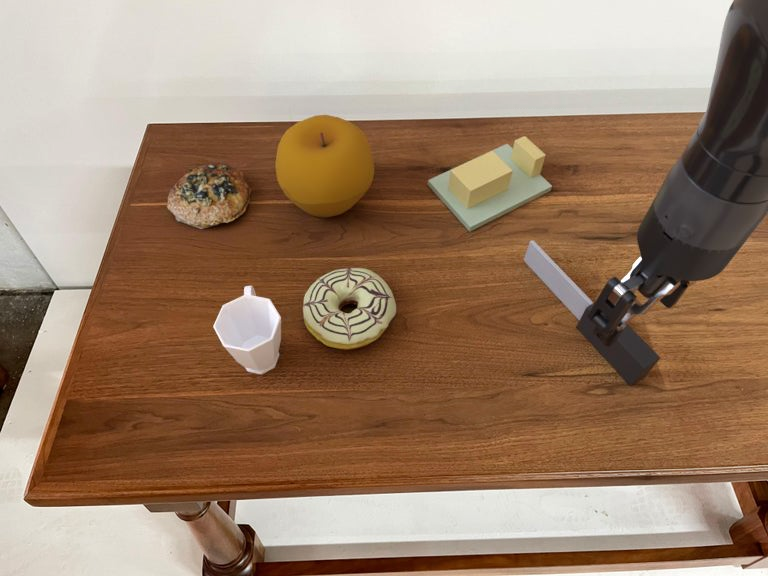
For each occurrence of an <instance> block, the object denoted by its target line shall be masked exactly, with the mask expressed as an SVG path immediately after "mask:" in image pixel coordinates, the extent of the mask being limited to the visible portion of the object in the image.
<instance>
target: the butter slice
mask: <svg viewBox="0 0 768 576" xmlns="http://www.w3.org/2000/svg"><path fill="white" fill-rule="evenodd" d="M512 148H513V151H512V155H511V160H512V161H513V162H514V163H515V164H516V165H517V166H519V167H520V168H521V169H522V170H523V171H524V172H525V173H526V174H527V175H528V176H529V177H530V178H532V177H534V176H536V175H538V174H540V175H541V172H542V169H543V166H544V162H545V159H546V153H544V151H542V150H541V148H539V147H538V146H537V145H535V144H534V143H533V141H531V140H530V139H529V138H528V137H527V136H526V135H523V136H522V137H519V138H517V139H515V140H514V142H513V146H512Z"/></svg>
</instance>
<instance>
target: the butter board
mask: <svg viewBox="0 0 768 576" xmlns="http://www.w3.org/2000/svg"><path fill="white" fill-rule="evenodd" d="M491 151H493V152H494V153H495V154H496V155H497V156H498V157H499V158H500V159H501V160H502V161H503V162H504V163H505V164H507V165H508V166H509V167H510V168H511V169H512V170H513V172H512V176H511V180H510V184H509V189H507V190H505V191H503V192H501V193H499V194H497V195H495V196H493V197H491V198H489V199H487V200H485V201H483V202H481V203H479V204H477V205H474V206H472V207H470V208H468V209H467V208H466V207H465V206H464V205H463V204H462V202H461V201H460V200H459V199H458V198H457V197H456V196H455V195H454V194H453V193H452V192H451V191H450V189H449V188H448V187H449V179H450V171H451V170H452V169H454V168H456V167H457V166H456V167H453V168H451V169H449V170H447V171H445V172H443V173H440V174H438V175H436V176H434V177H432V178H429V179H428V180H427V187H429V188H430V189H431V190H432V192H433V193H434V194H435V195H436V196H437V197H438V199H440V201H441V202H442V204H444V205H445V206H446V207H447V209H448V210H449V211H450V212H451V213H452V214H453V215H454V216H455V217H456V218H457V219H458V221H459V222H460V223H461V224H462V225H463V227H465V228H466V230H467V231H468V232H473V231H475V230H476V229H478V228H480V227H482V226H485V225H486V224H488V223H490V222H492V221H494V220H496V219H498V218H500V217H502V216H503V215H506V214H508V213H510V212H512V211H514V210H516V209H518V208H520V207H522V206H523V205H527V204H528V203H530V202H532V201H534V200H536V199H538V198H540V197H542V196H543V195H545V194H548V193H549V192H551V191H552V188H553V185H552V184H550V182H548V180H546V178H545V177H543V176H542V174H541V173H540V174H538V175H536V176H534V177H532V178H530V177H529V176H528V175H527V174H526V173H525V172H524V171H523V170H522V169H521V168H520V167H519V166H517V165H516V164H515V163H514V162H513V161H512V160H511V155H512V151H513V147H512V146H511V145H510V144H508V143H506V144H503V145H501V146H498V147H497V148H495V149H492V150H490V151H489V152H491ZM482 155H483V154H481V155H479V156H477V157H476V158H478V157H480V156H482ZM469 161H470V160H469ZM469 161H466V162H464V163H462V164H461V165H463V164H465V163H467V162H469Z"/></svg>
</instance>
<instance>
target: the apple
mask: <svg viewBox="0 0 768 576" xmlns="http://www.w3.org/2000/svg"><path fill="white" fill-rule="evenodd" d="M374 161H375V160H374V155H373V150H372V146H371V145H370V142H369V140H368V138H367V136H366V134H365V133H364V132H363V131H362V129H360V128H359V127H358V126H357V125H356V124H354V123H352V122H350V121H349V120H346V119H343V118H341V117H338V116H334V115H329V114H319V115H317V114H316V115H314V116H311V117H308V118H305V119H303V120H299V121H298V122H296V123H295V124H293V125H292V126H290V127H289V128H288V129H287V130H286V131H285V132H284V134H283V135H282V136H281V139H280V140H279V142H278V145H277V149H276V157H275V163H274V165H275V166H274V167H275V175H276V180H277V182H278V185H279V187H280V189H281V190H282V192H283V193H284V195H285V196H286V198H287V199H288V200H290V202H292V203H293V204H294V205H295V206H296V207H298V208H299V209H301V210H302V211H303V212H305V213H307V214H308V215H310V216H314V217H319V218H325V219H327V218H331V217H337V216H340V215H342V214H343V213H345V212H347V211H348V210H350V209H352V208H353V207H354V205H356V204H357V203H358V201H360V200H361V199H362V198H363V197H364V195H365V194H366V193H367V192H368V190H369V189H370V188H371V186H372V182H373V179H374V175H375V162H374Z"/></svg>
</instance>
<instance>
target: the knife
mask: <svg viewBox="0 0 768 576" xmlns="http://www.w3.org/2000/svg"><path fill="white" fill-rule="evenodd" d="M523 262H524V263H525V264H526V265H527V266H528V267H529V268H530V270H531V271H533V273H534V274H535V275H537V277H538V278H539V279H540V280H541V282H543V283H544V284H545V286H546V287H548V289H549V290H550V291H551V292H552V293H553V294H554V296H556V297H557V298H558V300H559V301H560V302H561V303H562V304H563V305H564V306H565V307H566V308H567V309H568V310H569V312H571V314H573V316H574V317H575V318H576V319H577V320H578V323H577V324H576V326H575V328H576V329H577V331H579V333H580V334H582V335H583V337H584V338H585V339H586V340H587V341H588V342H589V344H590V345H591V346H593V348H595V350H596V351H597V352H598V353H599V354H600V355H601V356H602V357H603V359H604V360H606V362H607V363H608V364H609V365H610V366H611V368H612V369H614V371H615V372H616V373H617V374H618V375H619V376H620V377H621V379H623V380H624V381H625V383H626V384H627V385H628V386H629V387H632V386H633V385H636V384H637V383H638V382H640V381H641V380H642V379H644V378H645V377H647V376H648V375H649V373H650V372H651V371H652V369H653V368H654V367H655V366H656V365H657V363H658V362H659V361H660V360H661V356H659V355H658V353H657V352H656V351H654V350H653V348H652V347H651V346H650V345H649V344H648V343H646V341H645V340H644V339H643V338H642V337H641V336H640V335H639V334H638V333H637V332H636V331H635V330H634V329H633V328H632V327H631V326H630V325H629V323H628V324H627V325H626V327H625V328H624V330H623V331H622V333H621V334H620V336H619V338H618V339H617V341H616V342H615V343H614V344H613V345H611V346H610V347H607V346H605V345H603V344H602V343H601V342H600V341H599V340H598V339H597V338H596V337H595V336H594V329H595V327H596V325H595V324H594V323H593V322H592V321H590V320H589V319H588V318H587V316H588V314H589V312H590V311H591V309H592V307H593V306H594V304H595V302H596V301H594V302H593V300H591V298H589V297H588V295H587V294H586V293H585V292H584V291H583V290H582V289H581V288H580V287H579V286H578V285H577V284H576V283H575V281H573V280H572V279H571V278H570V277H569V276H568V274H567V273H566V272H564V270H563V269H562V268H561V267H559V265H558V264H557V263H556V262H555V261H554V260H553V259H552V258H551V257H550V256H549V255H548V254H547V253H546V252H545V251H544V249H543V248H541V247H540V246H539V244H538V243H537V242H536V241H535V240H534V239H532V240H529V243H528V246H527V249H526V252H525V254H524V258H523Z"/></svg>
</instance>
